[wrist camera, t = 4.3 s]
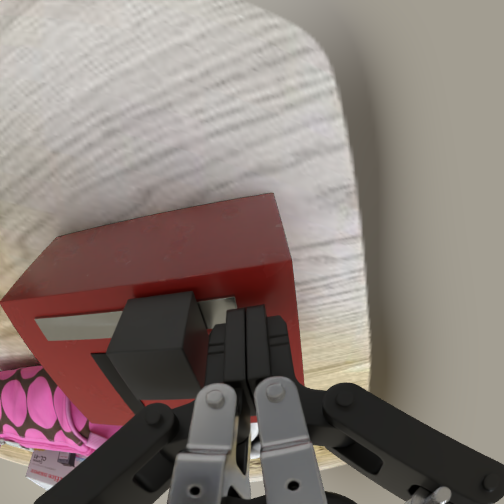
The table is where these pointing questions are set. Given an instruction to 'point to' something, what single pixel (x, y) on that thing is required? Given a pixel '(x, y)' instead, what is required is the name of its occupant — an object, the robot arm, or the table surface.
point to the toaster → (148, 290)
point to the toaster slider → (161, 347)
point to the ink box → (51, 466)
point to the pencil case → (45, 415)
